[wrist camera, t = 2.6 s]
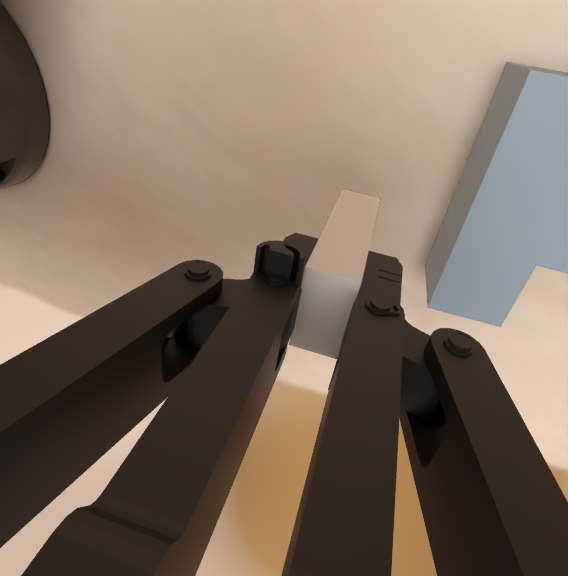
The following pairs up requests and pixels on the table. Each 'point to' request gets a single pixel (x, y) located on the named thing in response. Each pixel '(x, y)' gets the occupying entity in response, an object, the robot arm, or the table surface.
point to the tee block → (506, 201)
